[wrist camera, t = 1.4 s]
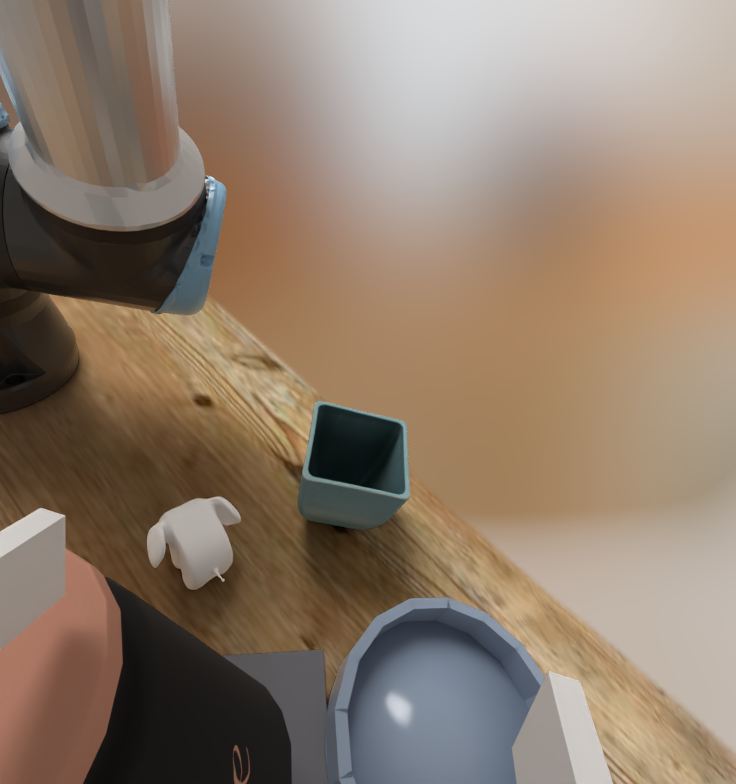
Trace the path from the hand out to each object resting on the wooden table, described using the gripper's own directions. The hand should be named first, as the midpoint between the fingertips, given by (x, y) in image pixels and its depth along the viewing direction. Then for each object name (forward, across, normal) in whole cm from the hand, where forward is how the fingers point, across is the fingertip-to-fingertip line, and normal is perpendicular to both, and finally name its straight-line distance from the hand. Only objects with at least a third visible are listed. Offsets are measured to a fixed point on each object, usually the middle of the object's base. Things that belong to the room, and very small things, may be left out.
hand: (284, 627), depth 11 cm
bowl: (+14, +10, -21) cm, 28 cm away
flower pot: (+28, -3, -14) cm, 31 cm away
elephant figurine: (+18, -12, -17) cm, 27 cm away
